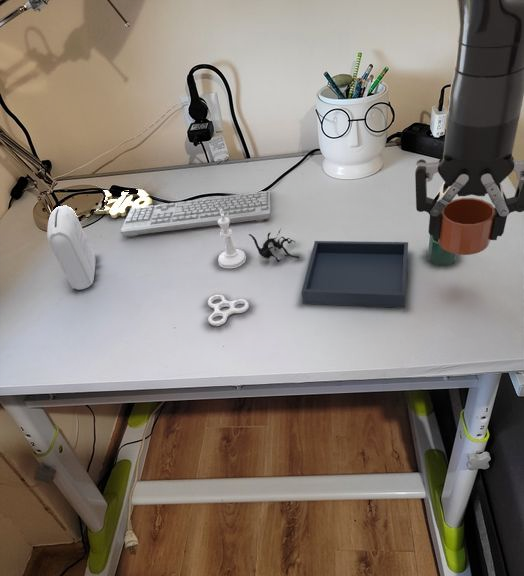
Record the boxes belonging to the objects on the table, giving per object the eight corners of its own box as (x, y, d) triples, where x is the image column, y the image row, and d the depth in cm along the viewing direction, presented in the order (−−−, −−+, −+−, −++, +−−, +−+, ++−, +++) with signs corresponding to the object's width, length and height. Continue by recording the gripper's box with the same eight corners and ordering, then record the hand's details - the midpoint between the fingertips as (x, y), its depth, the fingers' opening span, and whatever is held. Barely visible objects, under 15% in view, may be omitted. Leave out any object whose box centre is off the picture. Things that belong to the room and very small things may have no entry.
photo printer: (75, 260, 96) (46, 201, 87) (97, 255, 96) (71, 196, 88) (71, 293, 89) (39, 233, 80) (95, 287, 89) (66, 227, 80)
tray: (407, 254, 83) (408, 241, 82) (404, 308, 75) (405, 295, 73) (315, 252, 87) (314, 240, 86) (302, 303, 79) (301, 291, 77)
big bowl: (488, 227, 70) (494, 197, 66) (490, 255, 65) (496, 225, 62) (438, 226, 71) (441, 198, 68) (437, 254, 67) (440, 225, 64)
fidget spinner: (208, 299, 82) (207, 295, 82) (247, 292, 82) (246, 288, 82) (209, 328, 77) (208, 324, 77) (250, 321, 77) (250, 317, 77)
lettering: (161, 191, 110) (159, 187, 110) (145, 216, 104) (144, 212, 103) (59, 195, 116) (57, 191, 115) (38, 219, 109) (36, 215, 108)
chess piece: (221, 271, 87) (209, 221, 80) (216, 256, 91) (203, 206, 84) (249, 264, 88) (239, 213, 81) (242, 249, 91) (232, 198, 84)
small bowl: (455, 249, 83) (459, 228, 80) (456, 266, 80) (460, 245, 77) (427, 249, 84) (430, 228, 81) (427, 265, 81) (429, 244, 78)
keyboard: (270, 192, 103) (268, 183, 102) (271, 221, 96) (269, 212, 95) (131, 210, 106) (128, 201, 104) (122, 239, 99) (119, 231, 97)
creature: (278, 242, 93) (244, 254, 89) (280, 214, 90) (245, 225, 85) (308, 259, 88) (273, 272, 84) (311, 230, 85) (275, 242, 81)
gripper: (414, 127, 56) (406, 252, 68) (561, 120, 52) (525, 254, 63) (417, 99, 60) (410, 220, 72) (552, 91, 56) (521, 221, 68)
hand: (464, 236), depth 68 cm, fingers closed on big bowl, 6 cm apart
